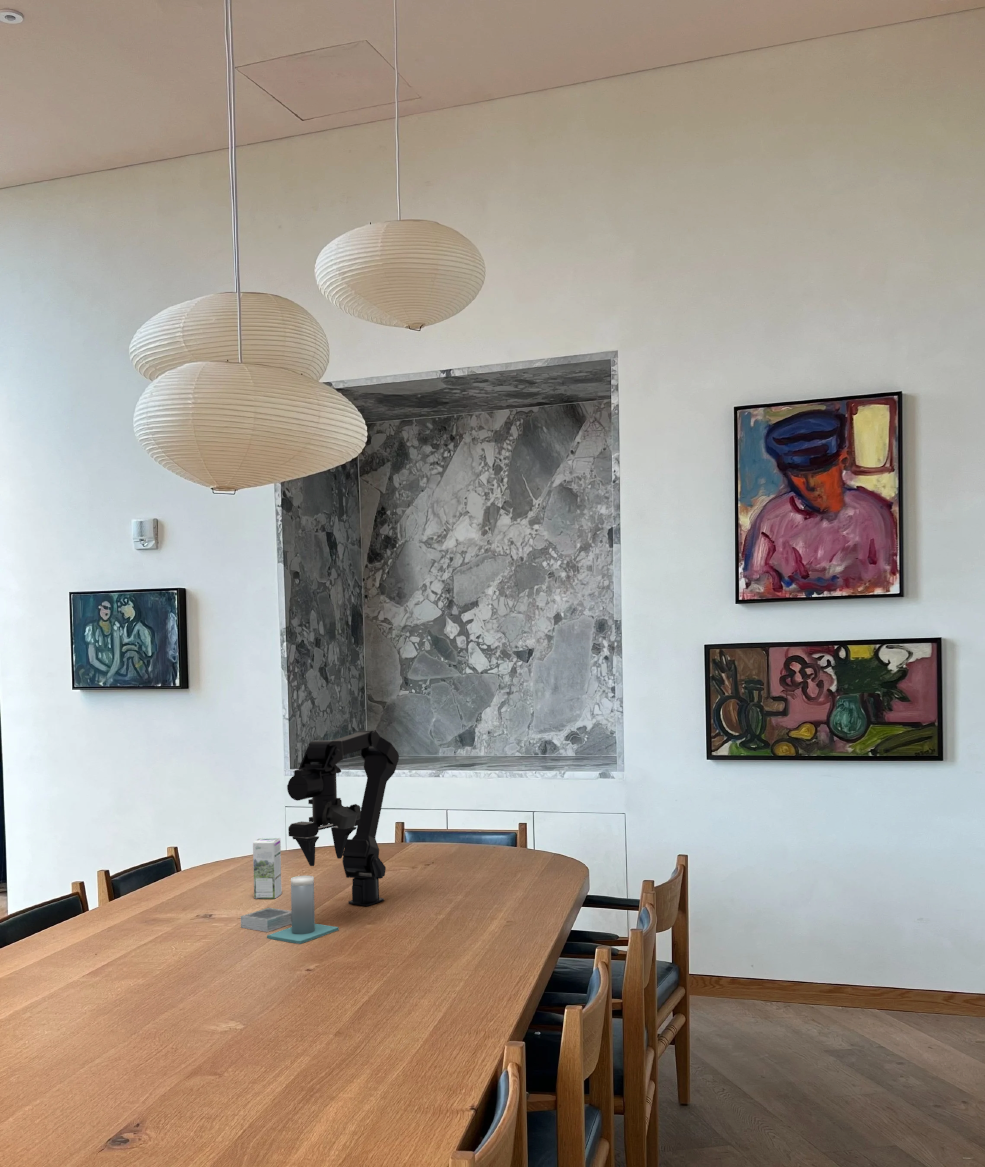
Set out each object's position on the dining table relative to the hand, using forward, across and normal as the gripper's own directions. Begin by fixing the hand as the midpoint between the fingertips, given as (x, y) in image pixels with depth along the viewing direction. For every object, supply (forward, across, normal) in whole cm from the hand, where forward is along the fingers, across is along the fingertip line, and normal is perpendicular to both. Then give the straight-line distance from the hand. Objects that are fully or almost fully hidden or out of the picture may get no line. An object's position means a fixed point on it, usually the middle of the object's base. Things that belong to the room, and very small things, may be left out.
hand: (325, 862), depth 232 cm
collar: (+13, -10, +9) cm, 19 cm away
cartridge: (+12, -12, -4) cm, 18 cm away
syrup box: (+13, +10, +30) cm, 34 cm away
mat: (+13, -12, -4) cm, 18 cm away
